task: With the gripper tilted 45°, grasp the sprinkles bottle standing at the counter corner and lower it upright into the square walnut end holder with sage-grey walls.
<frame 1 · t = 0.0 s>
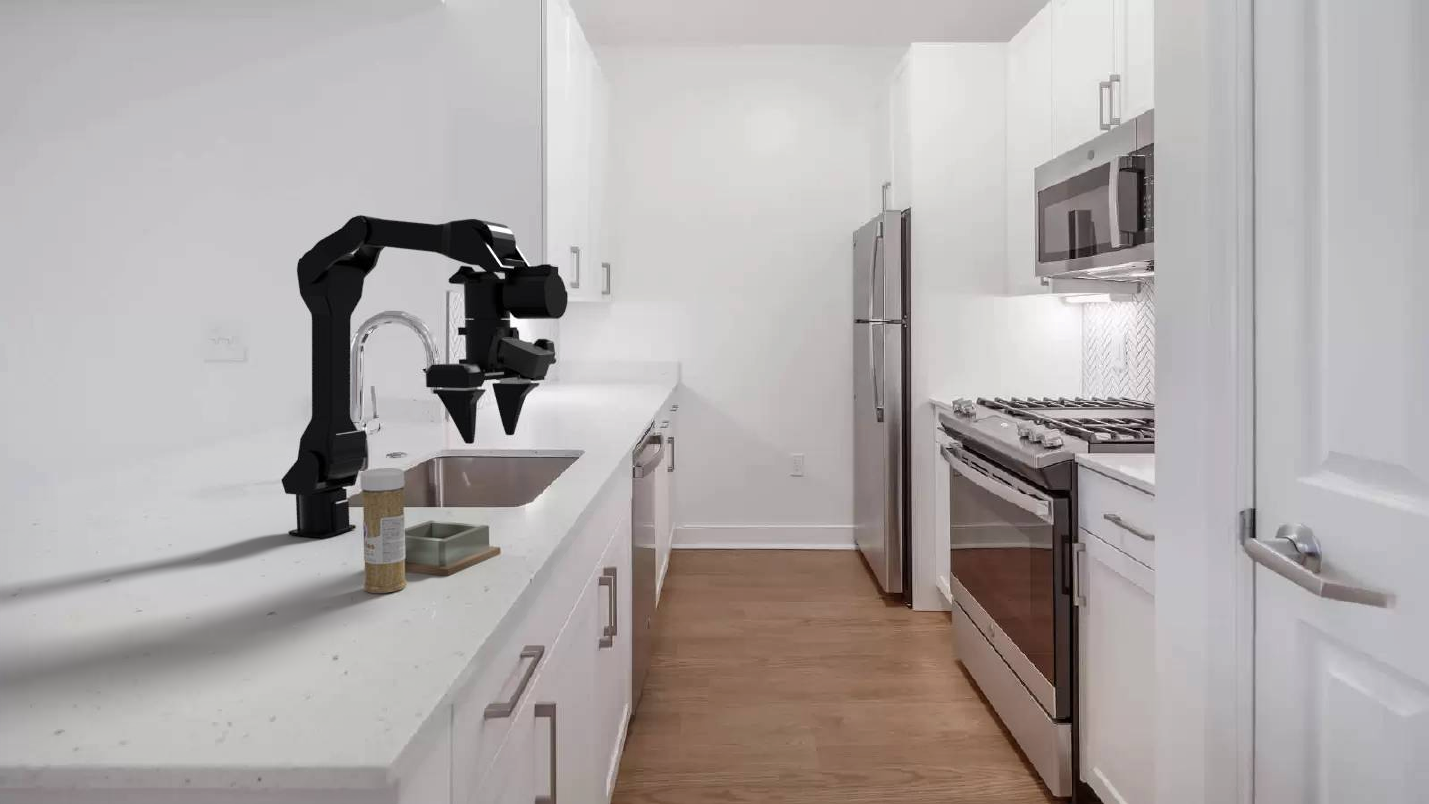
hand: (490, 439, 114), 15 cm above the worktop, tool pointing down, fingers open, 9 cm apart
sprinkles bottle: (386, 590, 98), on the worktop
end holder: (438, 560, 110), on the worktop
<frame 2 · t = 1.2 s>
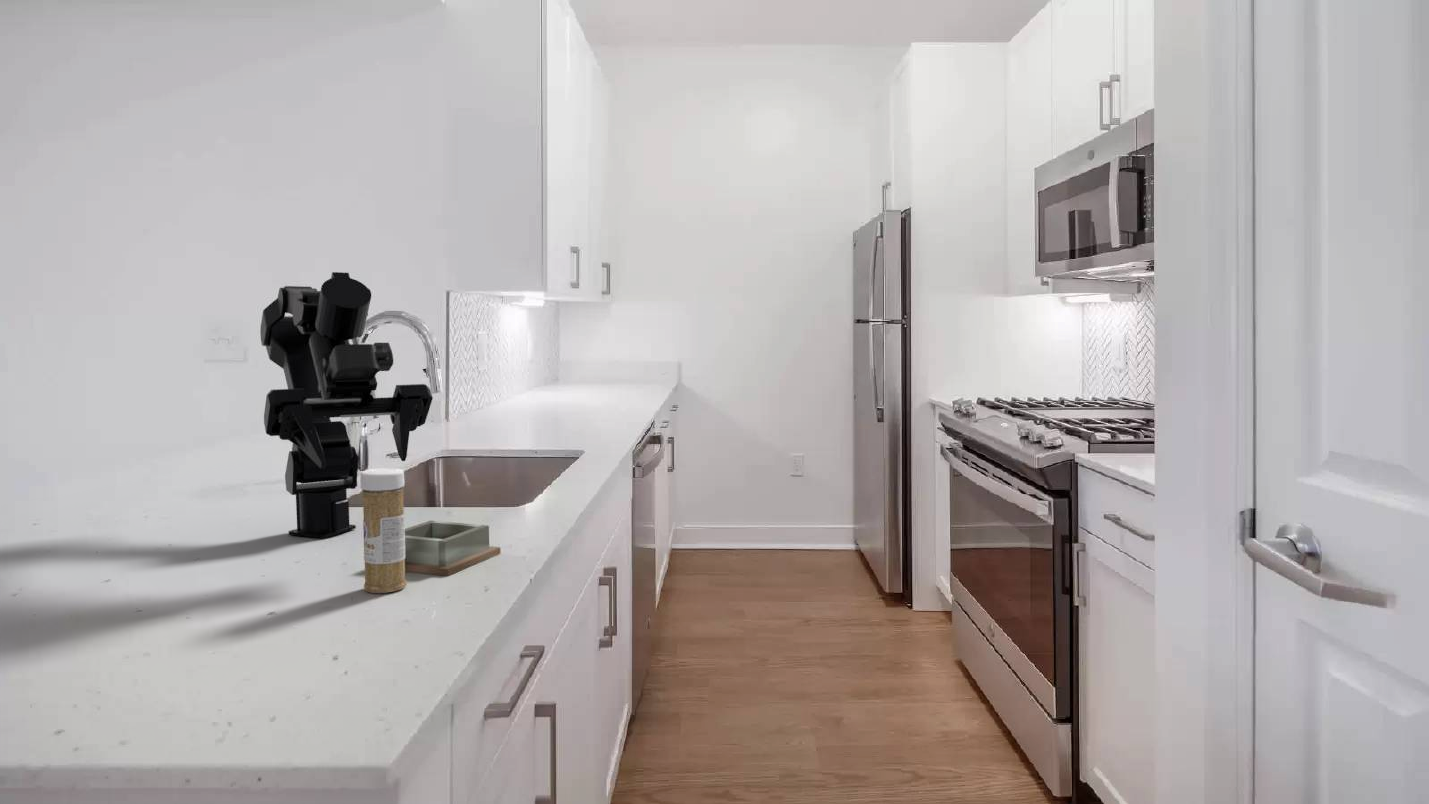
hand: (364, 462, 103), 13 cm above the worktop, tool tilted 45°, fingers open, 9 cm apart
nothing on the worktop moved.
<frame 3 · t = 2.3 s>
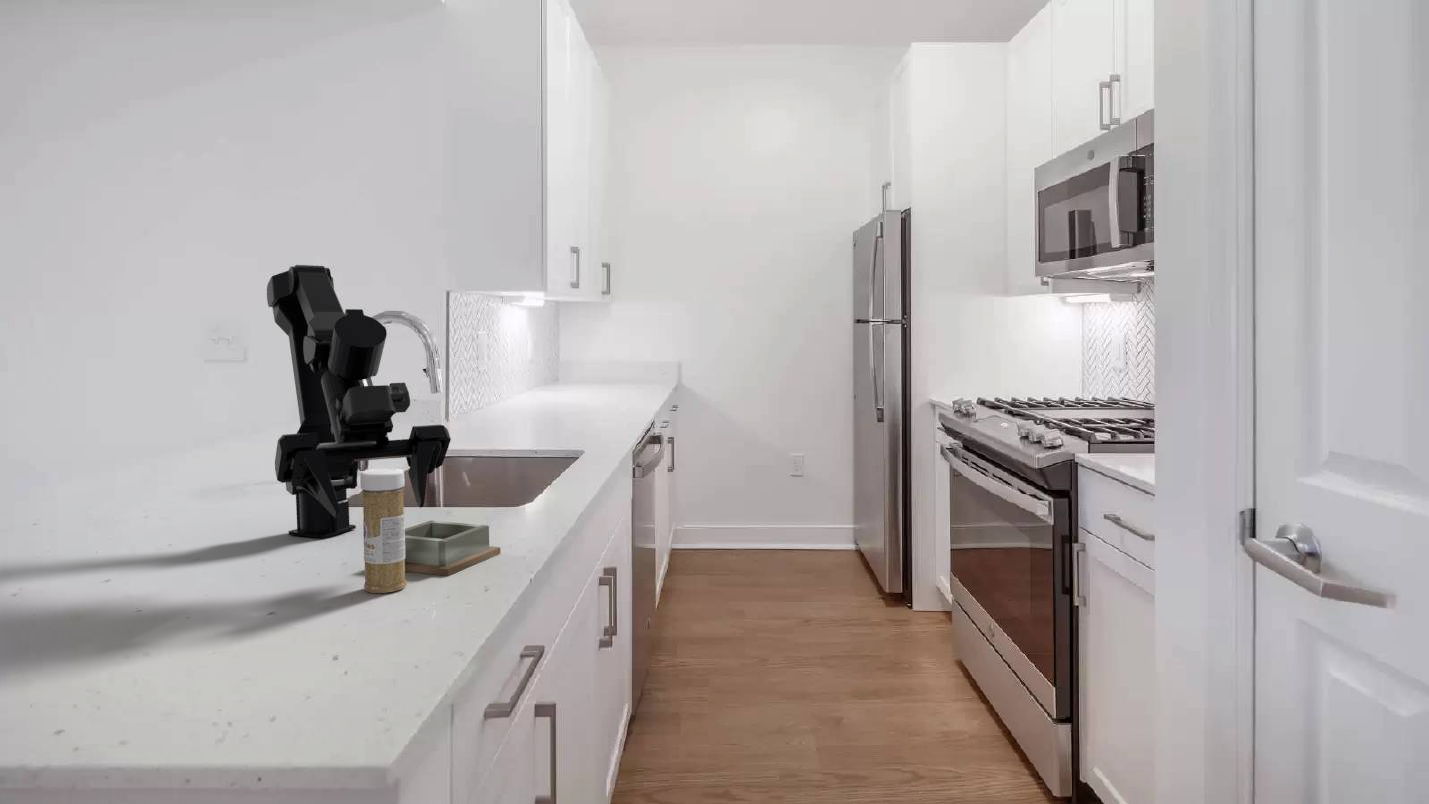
hand: (380, 510, 98), 9 cm above the worktop, tool tilted 45°, fingers open, 9 cm apart
nothing on the worktop moved.
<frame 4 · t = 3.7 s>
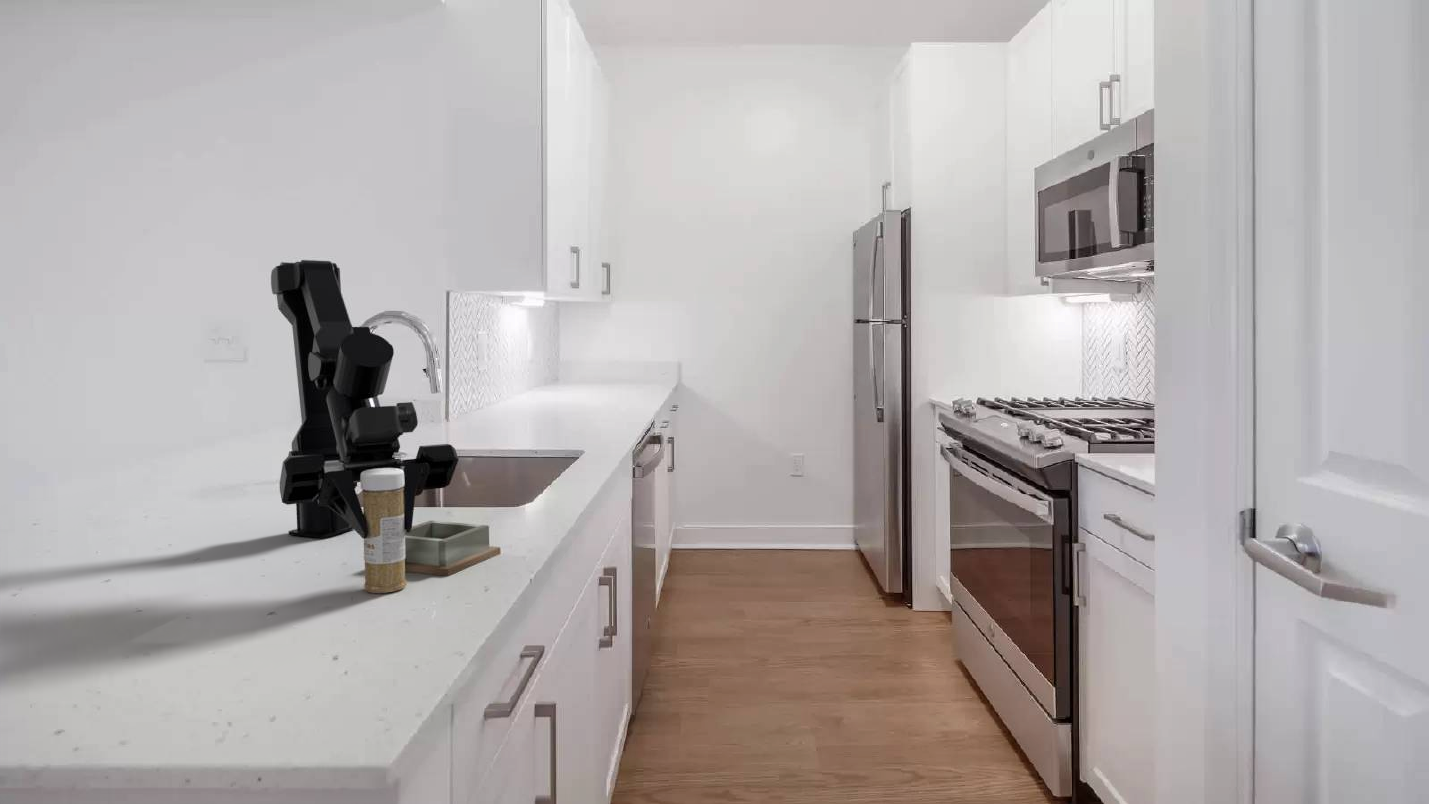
hand: (387, 533, 96), 7 cm above the worktop, tool tilted 45°, fingers closed on sprinkles bottle, 4 cm apart
sprinkles bottle: (386, 590, 98), on the worktop, touching gripper
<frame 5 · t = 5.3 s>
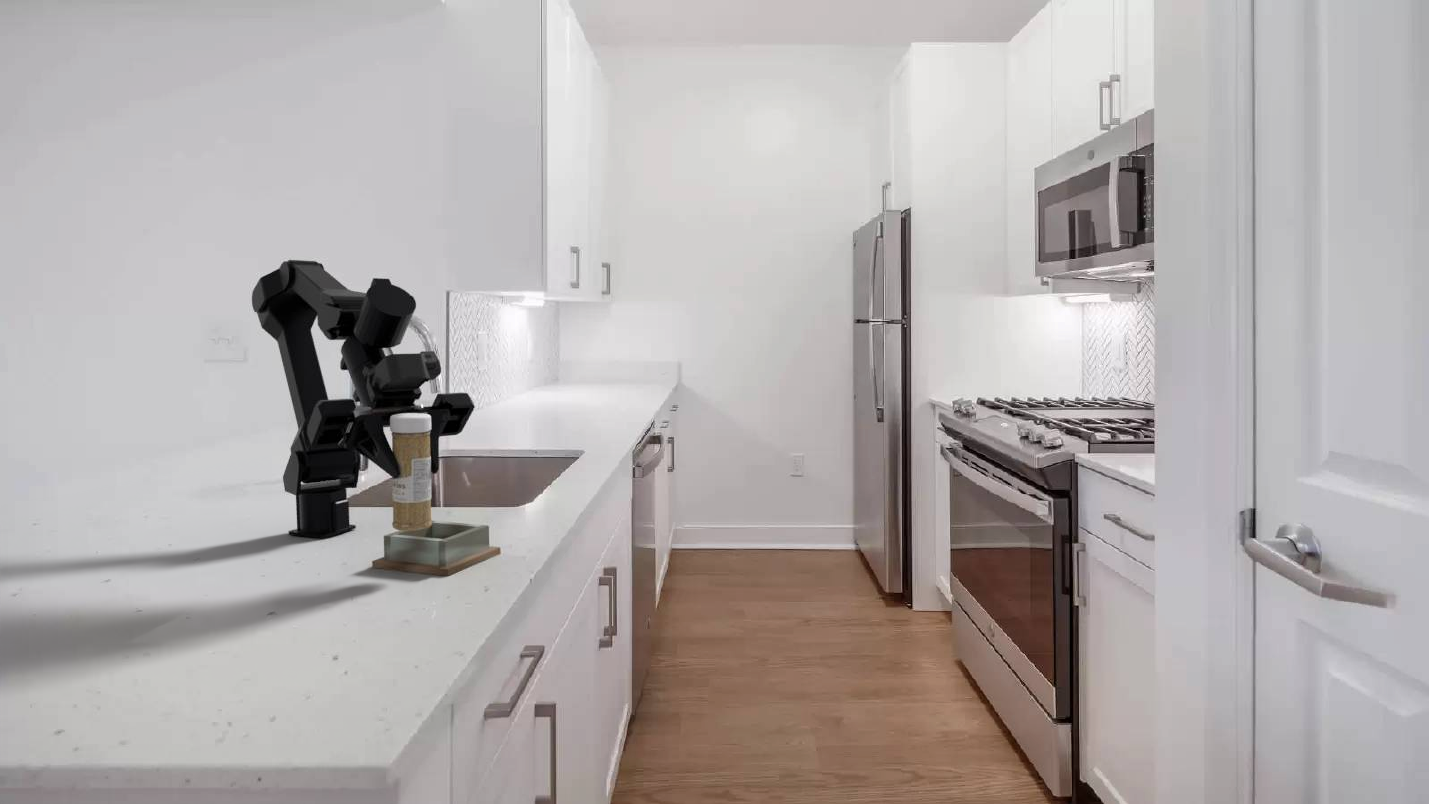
hand: (417, 474, 101), 12 cm above the worktop, tool tilted 45°, fingers closed on sprinkles bottle, 4 cm apart
sprinkles bottle: (412, 529, 103), point 5 cm above the worktop, touching gripper
when the fingers open (9 cm above the worktop, at t = 7.1 s): sprinkles bottle drops 1 cm, resting on end holder.
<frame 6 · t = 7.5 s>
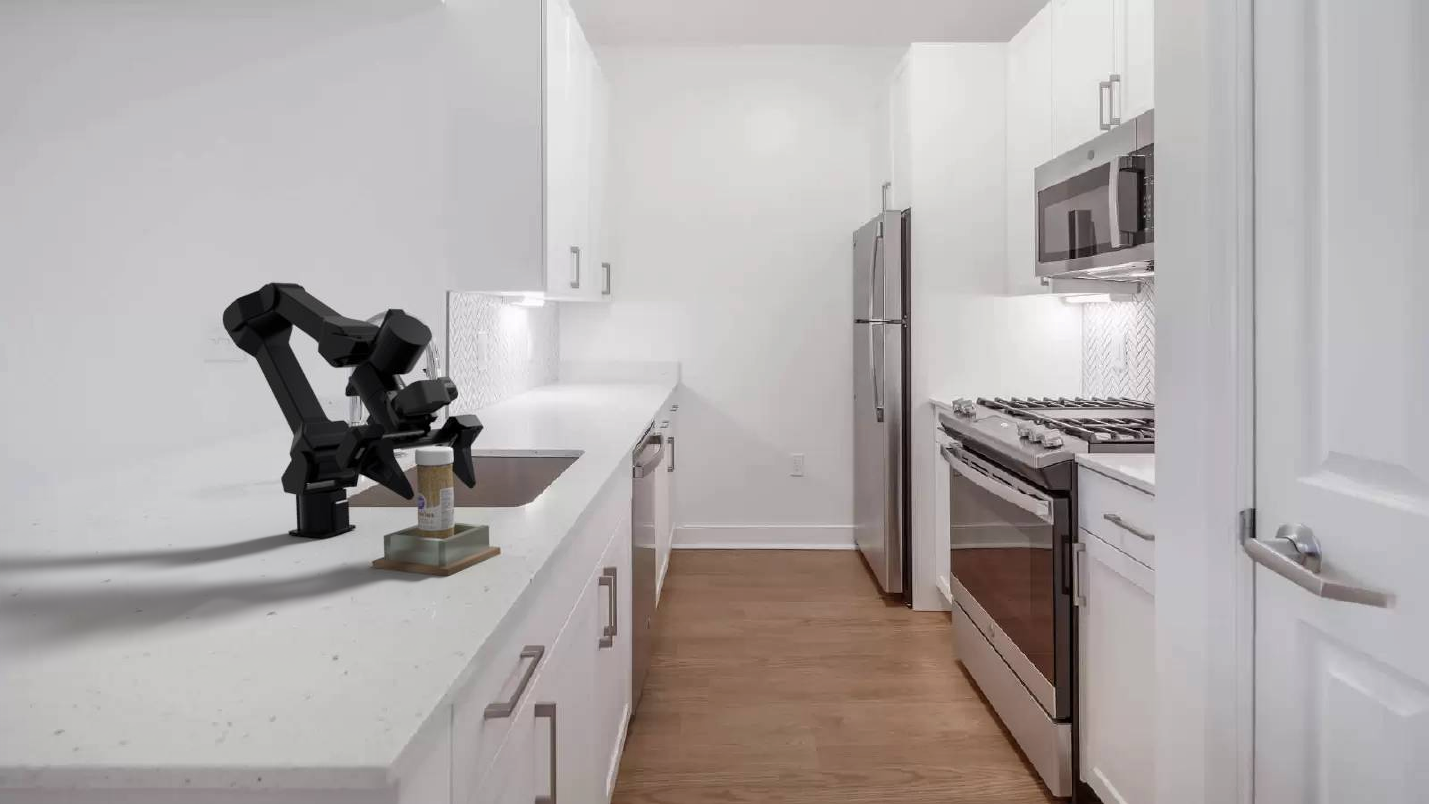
hand: (443, 492, 108), 9 cm above the worktop, tool tilted 45°, fingers open, 9 cm apart
sprinkles bottle: (437, 555, 110), point 1 cm above the worktop, touching end holder
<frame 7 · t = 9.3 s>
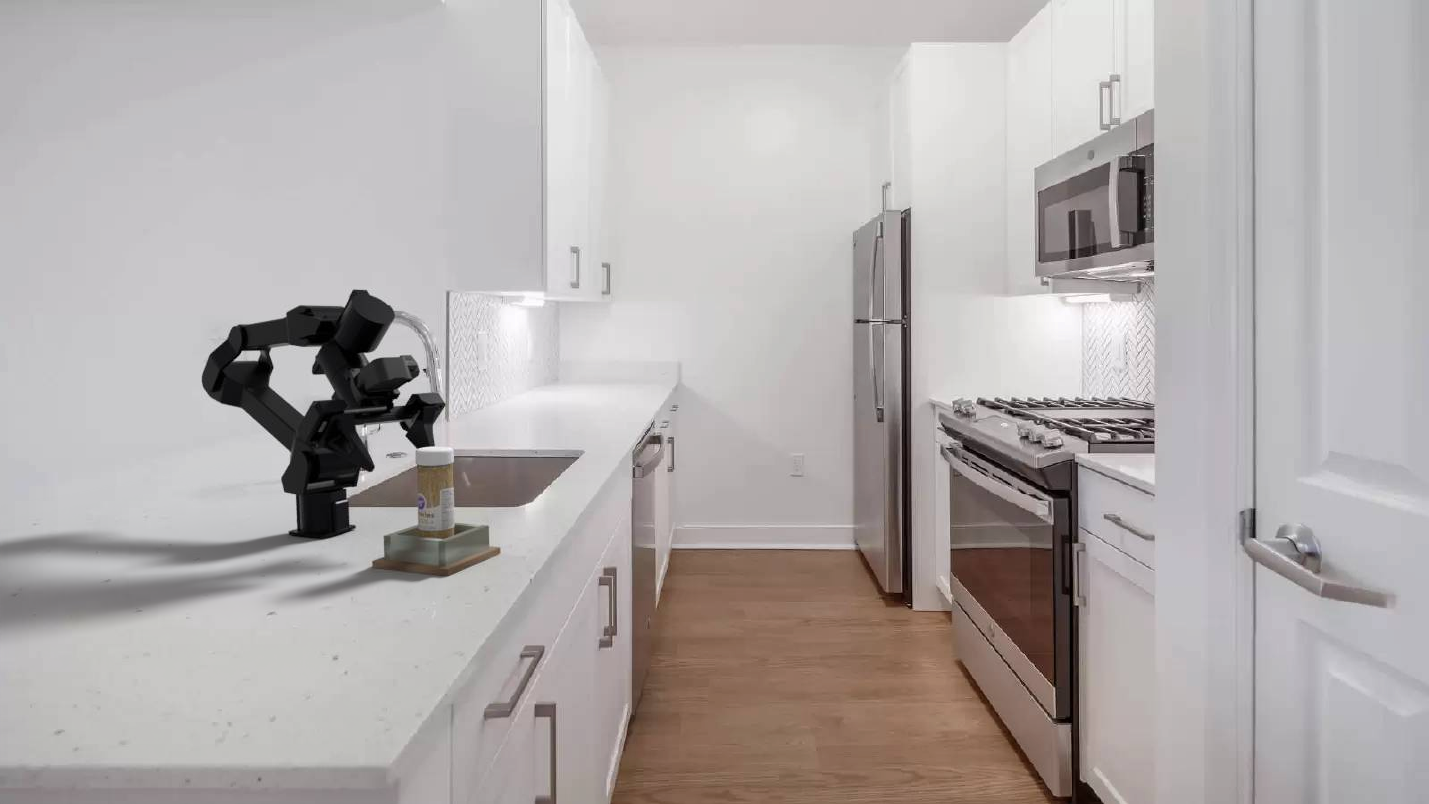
hand: (404, 465, 112), 11 cm above the worktop, tool tilted 45°, fingers open, 9 cm apart
nothing on the worktop moved.
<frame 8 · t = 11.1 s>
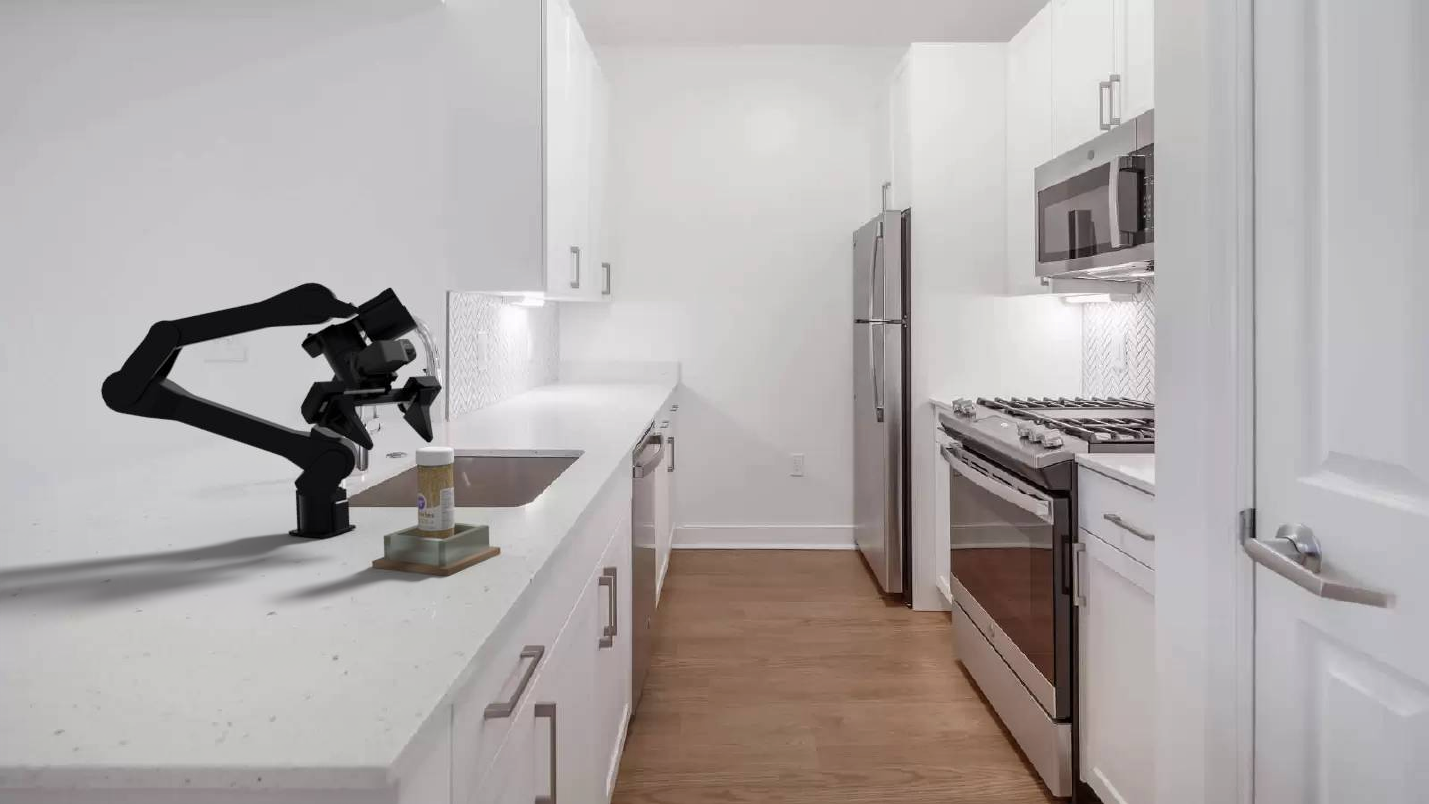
hand: (402, 444, 117), 14 cm above the worktop, tool tilted 45°, fingers open, 9 cm apart
nothing on the worktop moved.
at the end: sprinkles bottle 0.1 cm off-centre on the end holder, point 0.6 cm above the end holder's base; sprinkles bottle tilted 0°; the gripper is holding nothing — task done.
